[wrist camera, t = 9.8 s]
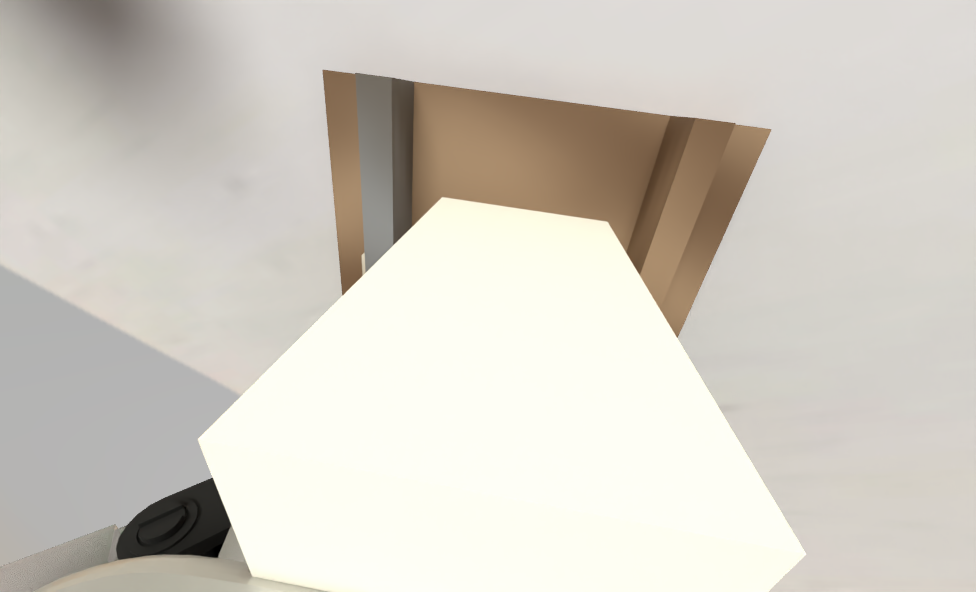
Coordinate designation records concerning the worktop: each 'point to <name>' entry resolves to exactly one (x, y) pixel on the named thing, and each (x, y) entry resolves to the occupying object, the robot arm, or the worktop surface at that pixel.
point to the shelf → (535, 172)
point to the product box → (495, 430)
